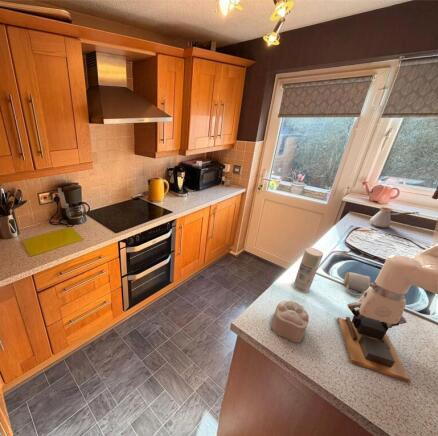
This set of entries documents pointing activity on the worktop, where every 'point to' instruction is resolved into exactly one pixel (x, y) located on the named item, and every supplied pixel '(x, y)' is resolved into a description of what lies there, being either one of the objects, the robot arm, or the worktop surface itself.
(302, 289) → the spray can
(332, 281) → the worktop surface
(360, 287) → the ceramic mug
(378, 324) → the dark grey square block
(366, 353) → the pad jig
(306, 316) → the lumpy-topped squat cylinder
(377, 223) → the coffee pot
